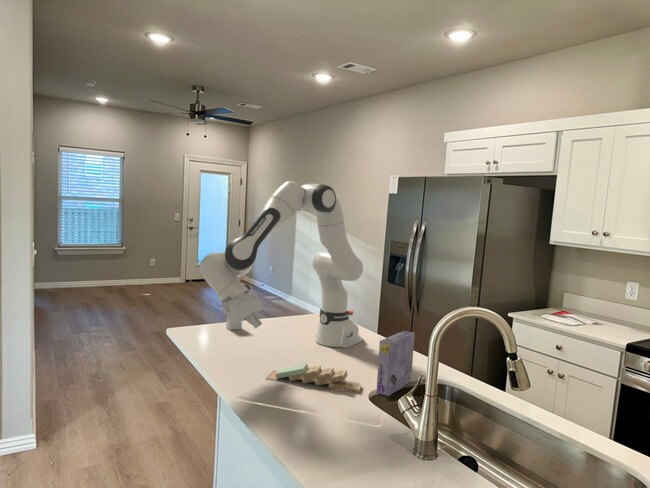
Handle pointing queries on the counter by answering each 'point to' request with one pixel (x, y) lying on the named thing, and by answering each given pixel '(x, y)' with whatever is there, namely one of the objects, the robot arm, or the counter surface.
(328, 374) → the maple domino
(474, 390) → the counter surface
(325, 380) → the maple domino
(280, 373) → the sage domino
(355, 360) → the counter surface
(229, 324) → the skincare box
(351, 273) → the robot arm
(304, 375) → the maple domino
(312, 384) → the charcoal mat
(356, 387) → the maple domino
